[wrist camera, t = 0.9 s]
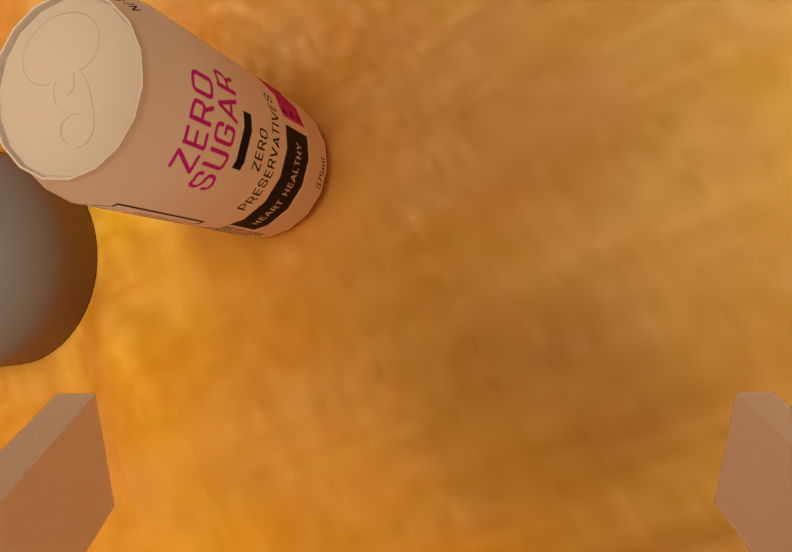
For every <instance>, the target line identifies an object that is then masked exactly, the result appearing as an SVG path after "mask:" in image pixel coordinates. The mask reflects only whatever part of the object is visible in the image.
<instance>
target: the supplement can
mask: <svg viewBox="0 0 792 552" xmlns="http://www.w3.org/2000/svg"><path fill="white" fill-rule="evenodd" d="M0 142H1V145H2V147H3V148H4V149H5V151H6V152H7V153H8V154H9V156H10V157H11V158H12V159H13V161H14V162H15V163H16V164H17V166H18V167H19V168H21V169H23V170H25V171H27V172H29V173H30V174H31V175H32V176H33V177H34V178H35V179H36V180H37V181H38V182H39V183H40V184H41V185H42V186H43V187H44V188H45V189H46V190H48V191H50V192H52V193H54V194H56V195H58V196H60V197H62V198H64V199H65V200H67V201H69V202H71V203H76V204H81V205H87V206H92V207H97V208H102V209H107V210H113V211H118V212H123V213H128V214H133V215H139V216H144V217H149V218H154V219H160V220H165V221H170V222H175V223H180V224H186V225H191V226H196V227H201V228H206V229H212V230H217V231H222V232H227V233H232V234H238V235H243V236H254V237H269V236H272V235H275V234H278V233H281V232H284V231H287V230H289V229H290V228H292V227H293V226H294V225H295V224H297V223H298V222H299V221H300V220H302V219H303V218H304V217H305V216H307V215H308V213H309V211H310V210H311V208H312V207H313V205H314V203H315V202H316V200H317V199H318V197H319V196H320V194H321V191H322V187H323V183H324V179H325V175H326V171H327V160H326V147H325V142H324V139H323V137H322V135H321V133H320V130H319V128H318V126H317V124H316V121H315V120H314V119H313V118H312V117H311V116H310V115H309V114H308V113H306V112H305V111H304V110H303V109H302V108H301V107H300V106H299V105H298V104H296V103H295V102H294V101H292V100H291V99H289V98H288V97H286V96H285V95H283V94H282V93H280V92H279V91H277V90H276V89H274V88H273V87H271V86H270V85H268V84H267V83H265V82H264V81H262V80H261V79H259V78H258V77H256V76H255V75H253V74H252V73H250V72H249V71H247V70H246V69H244V68H243V67H241V66H240V65H238V64H237V63H235V62H234V61H232V60H231V59H229V58H228V57H226V56H225V55H223V54H222V53H220V52H219V51H217V50H216V49H214V48H213V47H211V46H210V45H208V44H207V43H205V42H204V41H202V40H201V39H199V38H198V37H196V36H195V35H193V34H192V33H190V32H189V31H187V30H186V29H184V28H183V27H181V26H180V25H178V24H177V23H175V22H174V21H172V20H171V19H169V18H168V17H166V16H165V15H163V14H162V13H160V12H159V11H157V10H156V9H154V8H153V7H151V6H150V5H148V4H146V3H143V2H141V1H138V0H45V1H43V2H41V3H39V4H37V5H35V6H34V7H33V8H32V9H31V10H30V11H29V12H28V13H27V14H26V15H25V16H24V17H23V18H22V19H21V20H20V21H19V22H18V24H17V25H16V26H15V27H14V28H13V29H12V31H11V33H10V35H9V37H8V39H7V41H6V43H5V45H4V46H3V48H2V50H1V52H0Z"/></svg>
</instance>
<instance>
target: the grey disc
mask: <svg viewBox="0 0 792 552" xmlns="http://www.w3.org/2000/svg"><path fill="white" fill-rule="evenodd" d="M96 268H97V244H96V237H95V231H94V227H93V223H92V219H91V216H90V214H89V211H88V208H87V206H86V205H81V204H76V203H71V202H69V201H67V200H65V199H64V198H62V197H60V196H58V195H56V194H54V193H52V192H50V191H48V190H46V189H45V188H44V187H43V186H42V185H41V184H40V183H39V182H38V181H37V180H36V179H35V178H34V177H33V176H32V175H31V174H30V173H29V172H27V171H25V170H23V169H21V168H19V167H18V166H17V164H16V163H15V162H14V161H13V159H12V158H11V157H10V156H9V154H7V153H3V152H0V367H2V366H11V365H21V364H26V363H30V362H34V361H36V360H39V359H41V358H43V357H45V356H47V355H48V354H50V353H52V352H53V351H54V350H56V349H57V348H58V347H59V346H61V345H62V344H63V343H64V342H65V341H66V339H67V338H68V337H69V336H70V335H71V334H72V332H73V331H74V330H75V328H76V327H77V326H78V324H79V322H80V320H81V318H82V317H83V315H84V313H85V311H86V308H87V306H88V303H89V301H90V298H91V294H92V291H93V287H94V282H95V277H96Z"/></svg>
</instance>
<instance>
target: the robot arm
mask: <svg viewBox="0 0 792 552" xmlns="http://www.w3.org/2000/svg"><path fill="white" fill-rule="evenodd" d="M714 503H715V504H716V506H717V507H718V509H719V510H720V511H721V513H722V514H723V515H724V517H725V518H726V519H727V521H728V522H729V524H730V525H731V526H732V528H733V529H734V530H735V532H736V533H737V535H738V536H739V537H740V539H741V540H742V541H743V543H744V544H745V545H746V547H747V548H748V550H749V551H750V552H792V407H791V406H790V405H789V404H787V403H786V402H785V401H784V400H783V399H782V398H780V397H779V396H778V395H777V394H776V393H775V392H737V394H736V399H735V403H734V408H733V413H732V418H731V423H730V428H729V433H728V438H727V442H726V447H725V452H724V457H723V462H722V467H721V472H720V477H719V481H718V486H717V491H716V496H715V501H714ZM114 506H115V504H114V499H113V493H112V487H111V481H110V476H109V470H108V464H107V458H106V453H105V447H104V441H103V435H102V430H101V424H100V418H99V412H98V407H97V401H96V395H95V394H57V395H56V396H55V397H54V398H53V399H52V400H51V401H50V402H49V403H48V404H47V405H46V406H45V407H44V408H43V409H42V410H41V411H40V412H39V413H38V414H37V415H36V416H35V417H34V418H33V419H32V420H31V421H30V422H29V423H28V424H27V425H26V426H25V427H24V428H23V429H22V430H21V431H20V432H19V433H18V434H17V435H16V436H15V437H14V438H13V439H12V440H11V441H10V442H9V443H8V444H7V445H6V446H5V447H4V448H3V449H2V450H1V451H0V552H87V550H88V548H89V547H90V545H91V543H92V542H93V540H94V539H95V537H96V535H97V534H98V532H99V530H100V529H101V527H102V525H103V524H104V522H105V521H106V519H107V517H108V516H109V514H110V512H111V511H112V509H113V507H114Z"/></svg>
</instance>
